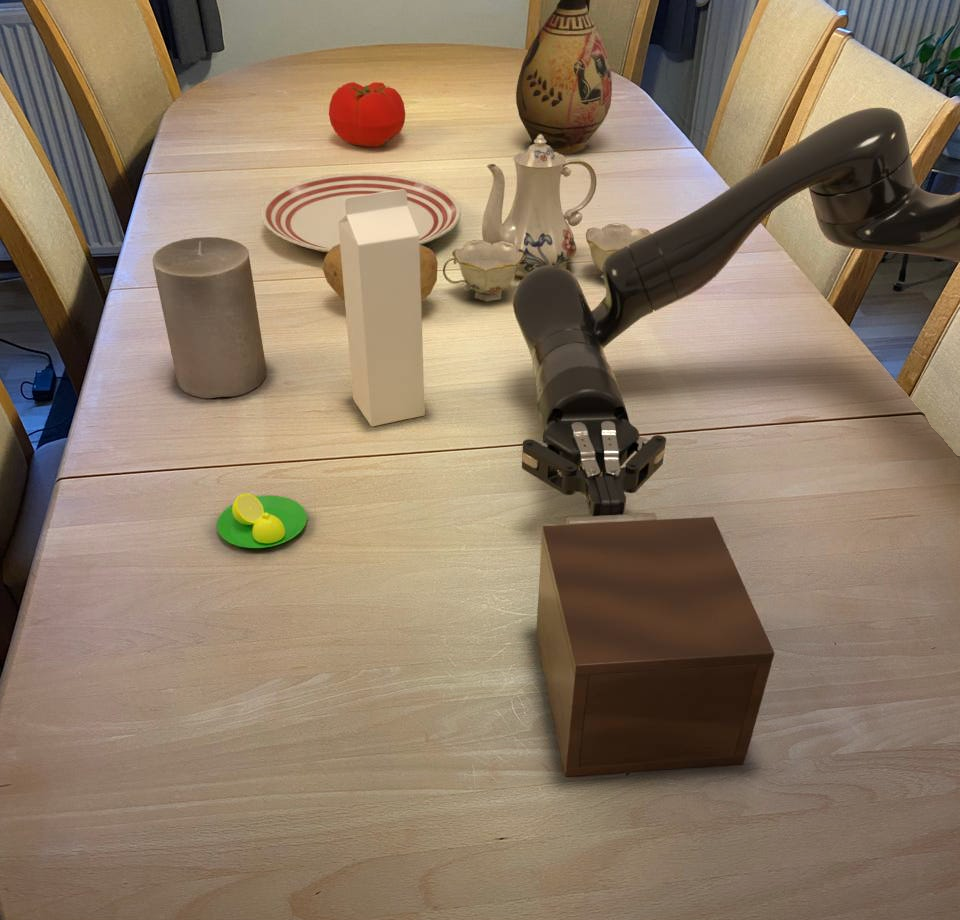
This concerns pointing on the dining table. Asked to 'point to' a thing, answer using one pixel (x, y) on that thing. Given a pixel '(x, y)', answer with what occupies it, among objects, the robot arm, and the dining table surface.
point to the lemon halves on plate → (261, 521)
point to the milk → (383, 306)
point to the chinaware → (532, 226)
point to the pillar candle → (211, 316)
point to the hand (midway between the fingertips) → (610, 514)
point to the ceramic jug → (565, 80)
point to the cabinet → (648, 646)
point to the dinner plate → (321, 205)
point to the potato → (427, 271)
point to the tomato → (366, 113)
